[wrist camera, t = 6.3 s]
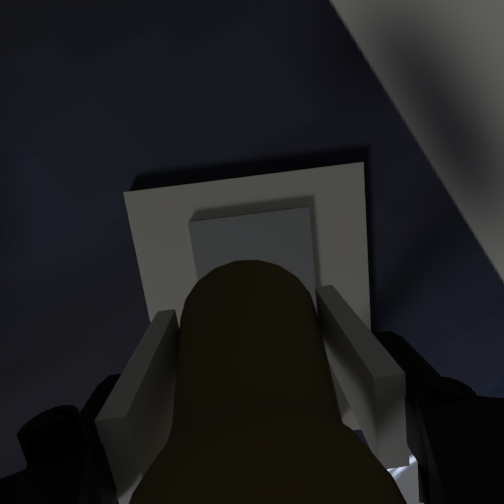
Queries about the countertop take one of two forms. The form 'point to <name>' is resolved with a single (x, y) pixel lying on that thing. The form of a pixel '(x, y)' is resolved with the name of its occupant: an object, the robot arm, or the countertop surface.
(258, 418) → the cork
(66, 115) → the countertop surface
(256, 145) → the countertop surface
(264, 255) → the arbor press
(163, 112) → the countertop surface
